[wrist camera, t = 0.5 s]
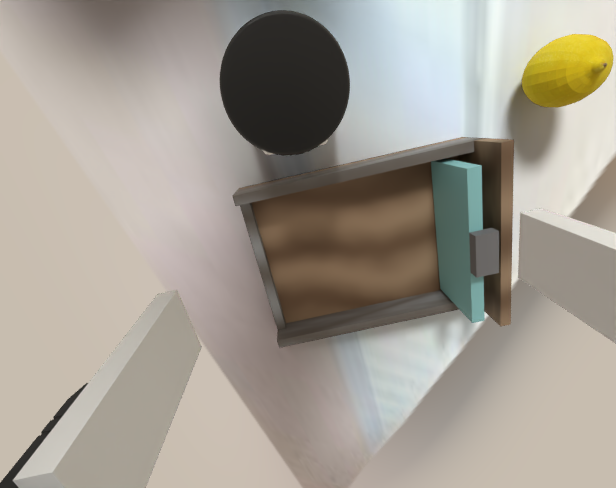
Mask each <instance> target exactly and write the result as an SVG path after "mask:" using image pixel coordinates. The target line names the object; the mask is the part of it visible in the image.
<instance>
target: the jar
mask: <svg viewBox="0 0 616 488" xmlns="http://www.w3.org/2000/svg"><path fill="white" fill-rule="evenodd" d="M220 91H221V97H222V101H223V105H224V108H225V110H226V113H227V115H228V117H229V119H230V121H231V122H232V124H233V125H234V127H235V128H236V130H237V131H238V132H239V133H240V134H241V135H242V136H243V137H244V138H245V139H246V140H247V141H249V142H250V143H251V144H253V145H254V146H256V147H257V148H259V149H261V150H262V151H263V152H264V153H265V154H266V155H272V154H276V155H298V154H302V153H305V152H307V151H310V150H312V149H314V148H316V147H318V146H320V145H325V144H326V143H327V141H328V138H329V137H330V136H331V135H332V134H333V132H334V131H335V130H336V128H337V127H338V125H339V124H340V122H341V120H342V118H343V116H344V113H345V111H346V108H347V104H348V99H349V91H350V79H349V71H348V66H347V62H346V59H345V56H344V54H343V52H342V50H341V48H340V46H339V44H338V42H337V41H336V39H335V38H334V37H333V35H332V34H331V33H330V32H329V31H328V30H327V29H326V28H325V27H324V26H323V25H322V24H320V23H319V22H318V21H316V20H314V19H313V18H311V17H309V16H307V15H304V14H301V13H298V12H294V11H286V10H283V11H272V12H268V13H264V14H262V15H259V16H257V17H255V18H253V19H252V20H250V21H249V22H247V23H246V24H245V25H244V26H242V27H241V28H240V29H239V30H238V32H237V33H236V34H235V35H234V37H233V38H232V40H231V41H230V43H229V45H228V47H227V49H226V51H225V54H224V57H223V60H222V64H221V70H220Z"/></svg>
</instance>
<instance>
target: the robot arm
mask: <svg viewBox="0 0 616 488" xmlns="http://www.w3.org/2000/svg"><path fill="white" fill-rule="evenodd" d="M518 278H519V279H521V280H523V281H524V282H525V283H527V284H528V285H530V286H531V287H533V288H534V289H536V290H537V291H539V292H540V293H541V294H543V295H544V296H546V297H547V298H549V299H550V300H552V301H553V302H555V303H557V304H558V305H559V306H561V307H562V308H564V309H565V310H567V311H568V312H570V313H571V314H573V315H574V316H576V317H577V318H579V319H580V320H582V321H583V322H585V323H586V324H587V325H589V326H590V327H592V328H593V329H595V330H596V331H598V332H599V333H601V334H602V335H604V336H605V337H607V338H608V339H610V340H611V341H613V342H614V343H616V233H614V232H611V231H608V230H605V229H602V228H599V227H596V226H593V225H590V224H587V223H584V222H581V221H578V220H575V219H572V218H569V217H566V216H563V215H560V214H557V213H554V212H551V211H548V210H545V209H542V208H539V209H535V210H530V211H526V212H521V213H520V237H519V266H518ZM200 350H201V344H200V342H199V340H198V337H197V335H196V333H195V330H194V328H193V326H192V324H191V321H190V319H189V317H188V314H187V312H186V310H185V307H184V305H183V303H182V300H181V298H180V296H179V294H178V291H177V290H174V291H170V292H165V293H161V294H157V296H156V297H155V298H154V300H153V301H152V302H151V303H150V305H149V306H148V307H147V309H146V310H145V311H144V312H143V314H142V315H141V316H140V318H139V319H138V320H137V321H136V323H135V324H134V325H133V326H132V328H131V329H130V330H129V332H128V333H127V334H126V335H125V337H124V338H123V339H122V341H121V342H120V343H119V344H118V346H117V347H116V348H115V350H114V351H113V352H112V354H111V355H110V356H109V357H108V359H107V360H106V361H105V362H104V364H103V365H102V366H101V368H100V369H99V370H98V372H97V373H96V374H95V375H94V377H93V378H92V379H91V380H90V382H89V383H86V384H85V385H84V386H83V387H82V388H81V389H79V390H78V391H77V392H76V393H75V394H74V395H72V396H71V397H70V398H69V399H68V400H67V401H66V402H65V404H64V405H63V406H62V407H61V408H60V410H59V411H58V412H57V413H56V415H55V416H54V420H52V421H50V422H49V423H48V424H47V426H46V427H45V428H44V429H43V431H42V434H41V436H38V437H37V438H36V440H35V441H34V442H33V443H32V444H31V446H30V447H29V448H28V449H27V450H26V452H25V453H24V454H23V455H22V457H21V458H20V459H19V460H18V462H17V463H16V464H15V465H14V467H13V468H12V469H11V470H10V471H9V473H8V474H7V475H6V476H5V478H4V479H3V480H2V482H1V483H0V488H146V486H147V483H148V480H149V478H150V475H151V473H152V470H153V468H154V465H155V463H156V460H157V458H158V455H159V453H160V450H161V448H162V445H163V443H164V440H165V437H166V435H167V433H168V430H169V428H170V425H171V423H172V420H173V418H174V415H175V412H176V410H177V408H178V405H179V402H180V400H181V398H182V395H183V392H184V390H185V387H186V385H187V382H188V380H189V377H190V375H191V372H192V370H193V367H194V365H195V362H196V360H197V357H198V355H199V352H200Z"/></svg>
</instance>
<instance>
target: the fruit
mask: <svg viewBox="0 0 616 488" xmlns="http://www.w3.org/2000/svg"><path fill="white" fill-rule="evenodd" d="M612 65H613V53H612V49H611V47H610V46H609V44H608V43H607V42H606V41H604V40H602V39H600V38H598V37H596V36H593V35H583V34H572V35H568V36H565V37H561V38H558V39H556V40H554V41H552V42H550V43H549V44H547V45H546V46H544V47H543V48H542V49H540V50H539V51H538V52H537V53H536V54H535V55H534V56H533V57H532V59H531V60H530V61H529V62H528V64H527V66H526V68H525V70H524V73H523V77H522V88H523V91H524V93H525V94H526V96H527V97H528V98H529V99H530V100H531V101H532V102H533V103H535V104H537V105H540V106H543V107H562V106H566V105H569V104H572V103H575V102H577V101H580V100H582V99H583V98H585V97H586V96H588V95H590V94H591V93H593V92H594V91H595V90H596V89H597V88H599V87H600V86H601V85H602V83H603V82H604V81H605V80H606V79H607V77H608V75H609V74H610V71H611V68H612Z"/></svg>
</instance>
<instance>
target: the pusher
mask: <svg viewBox="0 0 616 488" xmlns="http://www.w3.org/2000/svg"><path fill="white" fill-rule="evenodd" d="M431 171H432V184H433V198H434V211H435V225H436V238H437V252H438V265H439V278H440V289H441V290H442V291H443V292H444V293H445V294H446V295H447V296H448V297H449V299H450V300H451V301H452V302H453V303H454V304H455V305H456V306H457V307H458V308H459V309H460V310H461V311H462V312H463V314H464V315H465V316H466V317H467V318H468V319H469V320H470V321H471V322H472V323H474V322H479V321H484V276H487V275H492V274H496V273H499V231H498V230H496V229H494V228H488V229H483V213H482V165H477V164H471V163H466V162H461V161H456V160H451V159H446V158H445V159H440V160H436V161H432V162H431Z"/></svg>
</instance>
